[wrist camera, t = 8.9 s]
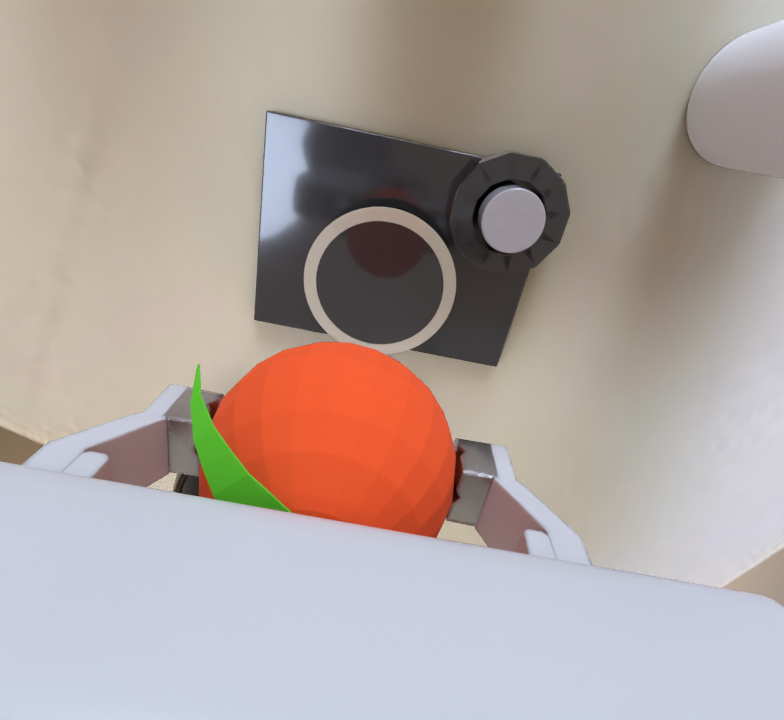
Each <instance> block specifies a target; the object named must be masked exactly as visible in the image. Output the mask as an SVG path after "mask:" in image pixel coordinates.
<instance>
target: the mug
mask: <svg viewBox="0 0 784 720" xmlns="http://www.w3.org/2000/svg"><path fill="white" fill-rule="evenodd" d="M687 131H688V135H689V138H690V141H691V143H692V145H693V147H694V149H695V150H696V151H697V153H698V154H699V155H700V156H701V157H703V158H704V159H705V160H707V161H708V162H710V163H712V164H715V165H717V166H721V167H725V168H730V169H734V170H739V171H744V172H750V173H755V174H762V175H768V176H774V177H779V178H784V20H782V21H779V22H776V23H773V24H770V25H767V26H764V27H761V28H758V29H755V30H753V31H750V32H748V33H746V34H744V35H742V36H740V37H738V38H737V39H735V40H733V41H732V42H731V43H729V44H728V45H727V46H725V47H724V48H723V49H722V50H721V51H720V52H718V53H717V54H716V55H715V56H714V58H713V59H712V60H711V61H710V62H709V63H708V65H707V66H706V67H705V69H704V70H703V72H702V73H701V75H700V76H699V78H698V80H697V82H696V84H695V86H694V88H693V91H692V93H691V96H690V100H689V104H688V109H687Z"/></svg>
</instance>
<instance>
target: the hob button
mask: <svg viewBox="0 0 784 720" xmlns="http://www.w3.org/2000/svg"><path fill="white" fill-rule="evenodd" d="M545 221H546V214H545V208H544V206H543V203H542V202H541V200H540V199H539V197H538V196H537V195H536V194H534V193H533V192H531V191H529V190H528V189H526V188H524V187H522V186H518V185H505V186H501V187H499V188H497V189H495V190H493V191H492V192H491V193H490V194H489V195H488V196H487V197H486V198H485V199H484V201H483V202H482V204H481V206H480V209H479V213H478V226H479V229H480V232H481V234H482V235H483V237H484V239H485V240H486V242H487V243H488V244H489V245H490V246H491V247H492V248H493V249H495V250H497V251H499V252H503V253H517V252H521V251H523V250H525V249H527V248H529V247H530V246H532V245H533V244H534V243H535V242H536V241H537V240H538V238H539V237H540V235H541V234H542V232H543V229H544V226H545Z"/></svg>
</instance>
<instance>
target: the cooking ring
mask: <svg viewBox="0 0 784 720" xmlns="http://www.w3.org/2000/svg"><path fill="white" fill-rule="evenodd" d="M304 290H305V294H306V299H307V302H308V305H309V307H310V310H311V311H312V313H313V315H314V317H315V319H316V320H317V321H318V323H319V324H320V326H321V327H322V328H323V329H324V330H325V331H326V332H327V333H328V334H329V335H330V336H331V337H333V338H334V339H335V340H337V341H338V342H347V343H353V344H357V345H361V346H365V347H368V348H372V349H376V350H378V351H380V352H382V353H384V354H385V355H387V354H396V353H400V352H404V351H407V350H410V349H412V348H414V347H416V346H418V345H420V344H422V343H423V342H425V341H426V340H428V339H429V338H430V337H431V336H433V335H434V334H435V333H436V332H437V331H438V330H439V328H440V327H441V326H442V325H443V323H444V322H445V320H446V319H447V317H448V315H449V313H450V311H451V308H452V305H453V302H454V298H455V293H456V272H455V267H454V263H453V260H452V257H451V254H450V252H449V250H448V248H447V246H446V244H445V243H444V241H443V240H442V238H441V237H440V236H439V234H438V233H437V232H436V231H435V230H434V229H433V228H432V227H431V226H429V225H428V224H427V223H426V222H425V221H423V220H421V219H420V218H418V217H417V216H415V215H413V214H410V213H408V212H406V211H403V210H399V209H396V208H390V207H367V208H361V209H357V210H354V211H351V212H349V213H346V214H344V215H342V216H340V217H339V218H337V219H336V220H334V221H333V222H332V223H330V224H329V225H328V226H327V227H326V228H325V229H324V230H323V231H322V232H321V233H320V234H319V236H318V237H317V239H316V240H315V241H314V243H313V245H312V247H311V249H310V251H309V253H308V256H307V259H306V263H305V269H304Z"/></svg>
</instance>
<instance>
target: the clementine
mask: <svg viewBox="0 0 784 720" xmlns="http://www.w3.org/2000/svg"><path fill="white" fill-rule="evenodd" d="M190 405H191V417H192V429H193V440H194V443H195V446H196V450H197V453H198V456H199V459H200V466H199V497H205V498H210V499H216V500H222V501H227V502H233V503H239V504H245V505H250V506H256V507H262V508H267V509H273V510H279V511H284V512H290V513H296V514H302V515H307V516H313V517H319V518H324V519H330V520H336V521H341V522H347V523H353V524H359V525H364V526H370V527H376V528H381V529H387V530H393V531H399V532H404V533H410V534H416V535H421V536H427V537H433V538H436V537H437V535H438V533H439V531H440V529H441V527H442V525H443V523H444V521H445V518H446V516H447V514H448V512H449V510H450V508H451V505H452V499H453V488H454V476H455V464H456V454H455V450H454V445H453V441H452V437H451V433H450V429H449V426H448V424H447V421H446V418H445V415H444V412H443V410H442V409H441V407H440V405H439V404H438V402H437V400H436V399H435V397H434V396H433V394H432V392H431V391H430V389H429V388H428V387H427V386H426V385H425V384H424V383H423V382H422V381H421V380H420V379H418V378H417V377H416V376H415V375H414V374H413V373H412V372H411V371H410V370H409V369H408V368H406V367H405V366H404V365H403V364H401V363H400V362H398V361H396V360H395V359H393V358H391V357H389V356H387V355H385V354H384V353H382V352H380V351H378V350H376V349H372V348H368V347H365V346H361V345H357V344H353V343H347V342H319V343H314V344H310V345H305V346H301V347H296V348H292V349H287V350H283V351H281V352H279V353H277V354H276V355H274V356H272V357H270V358H268V359H266V360H264V361H262V362H260V363H259V364H257V365H256V366H255V367H254V368H253V369H252V370H251V371H250V372H249V373H248V374H246V375H245V376H244V377H243V378H242V379H241V380H240V381H239V382H238V383H237V384H236V385H235V386H234V387H233V388H232V389H231V390H230V391H229V392H228V393H227V394H226V395H225V396H224V397H223V399H222V401H221V403H220V405H219V407H218V409H217V411H216V413H215V415H214V417H213V419H211V417H210V415H209V413H208V410H207V408H206V406H205V403H204V401H203V399H202V396H201V381H200V365H199V364H198V366H197V371H196V376H195V381H194V386H193V391H192V396H191V401H190Z"/></svg>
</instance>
